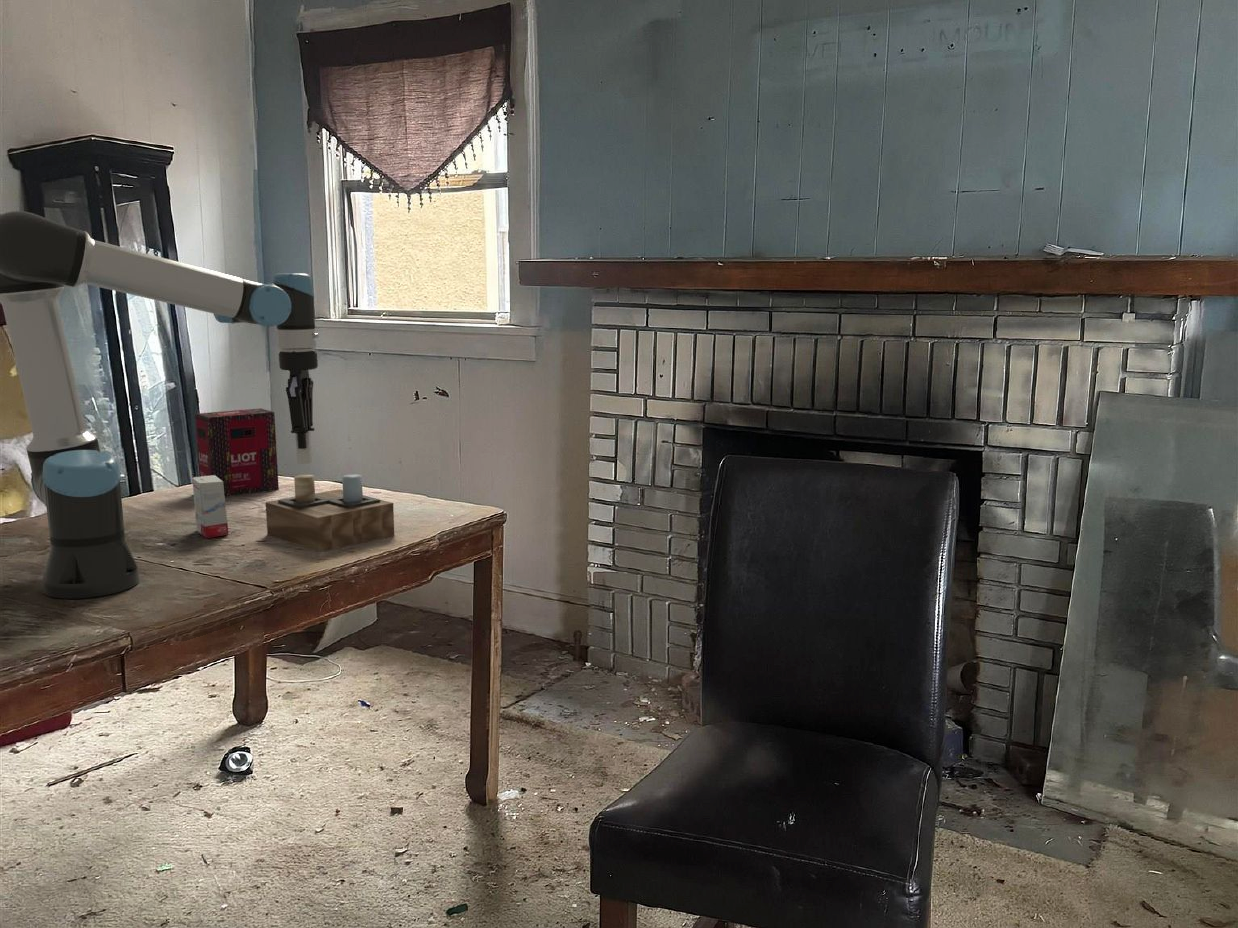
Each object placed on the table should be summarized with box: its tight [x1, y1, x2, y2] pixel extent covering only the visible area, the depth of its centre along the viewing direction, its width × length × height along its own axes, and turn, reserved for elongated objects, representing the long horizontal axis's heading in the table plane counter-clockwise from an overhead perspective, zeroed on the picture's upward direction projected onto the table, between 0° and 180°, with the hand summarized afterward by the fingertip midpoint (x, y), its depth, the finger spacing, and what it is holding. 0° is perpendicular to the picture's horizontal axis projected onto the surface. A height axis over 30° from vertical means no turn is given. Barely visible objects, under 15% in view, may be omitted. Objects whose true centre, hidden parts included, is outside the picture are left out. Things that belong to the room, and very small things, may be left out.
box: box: [194, 407, 280, 498], centre depth 255 cm, size 16×9×20 cm, turn 130°
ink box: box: [191, 475, 230, 539], centre depth 215 cm, size 9×5×12 cm, turn 33°
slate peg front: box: [341, 474, 364, 503], centre depth 214 cm, size 4×4×8 cm
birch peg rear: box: [293, 474, 316, 504], centre depth 213 cm, size 4×4×8 cm
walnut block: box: [265, 488, 395, 553], centre depth 215 cm, size 18×20×8 cm
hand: (304, 462), depth 212 cm, fingers closed
